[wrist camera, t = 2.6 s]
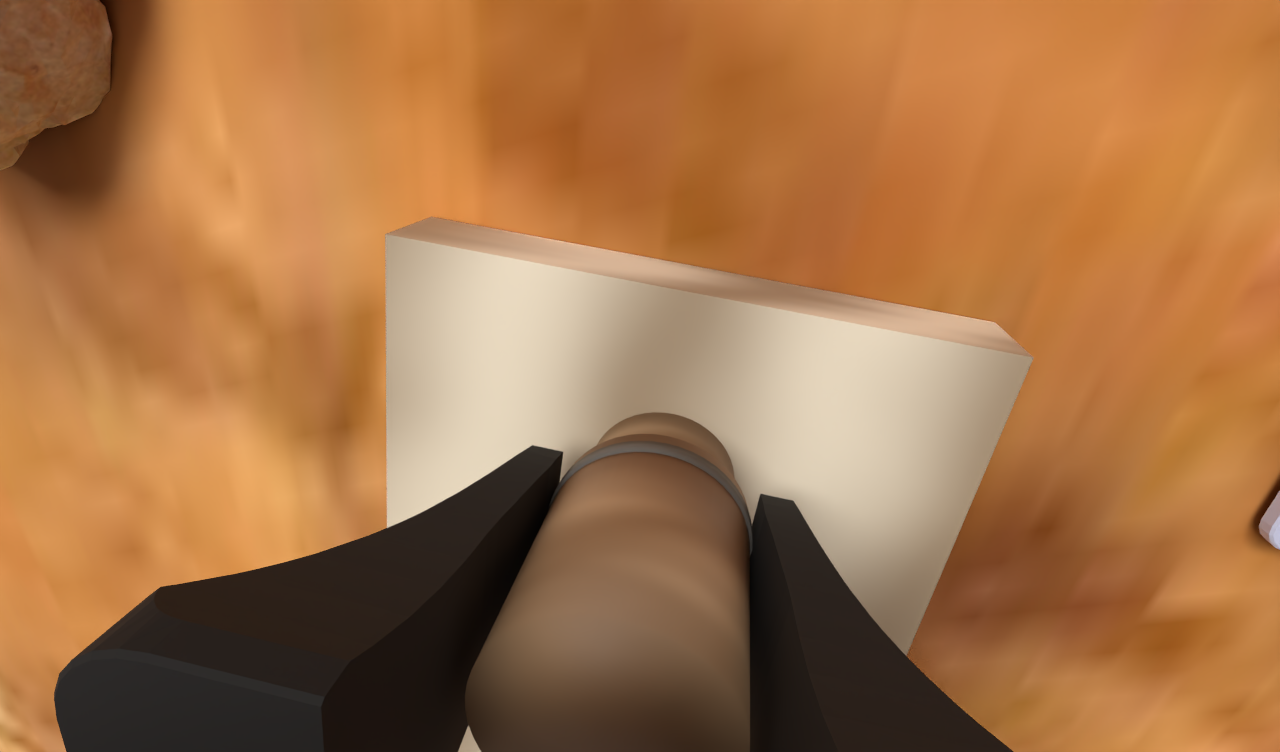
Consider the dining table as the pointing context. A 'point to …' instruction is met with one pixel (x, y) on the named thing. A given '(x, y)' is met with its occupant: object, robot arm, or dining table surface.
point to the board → (697, 390)
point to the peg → (627, 606)
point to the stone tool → (49, 67)
